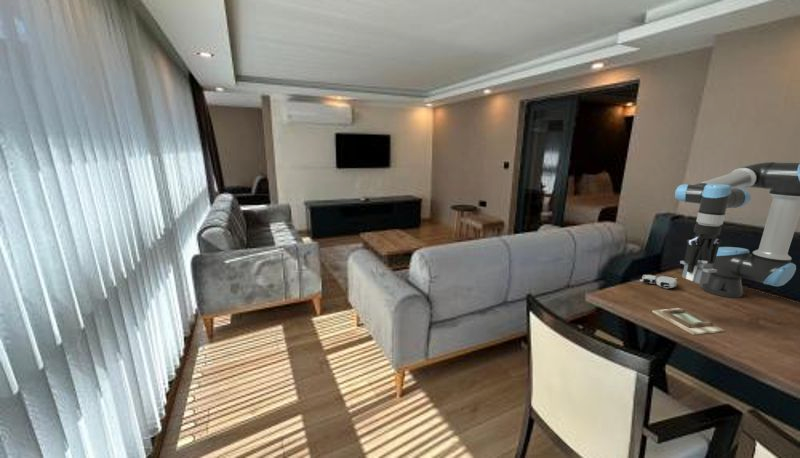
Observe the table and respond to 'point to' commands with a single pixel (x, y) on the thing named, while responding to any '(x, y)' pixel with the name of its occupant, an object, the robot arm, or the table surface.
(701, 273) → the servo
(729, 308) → the table surface
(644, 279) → the robot toy
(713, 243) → the robot arm
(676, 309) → the pocket board
